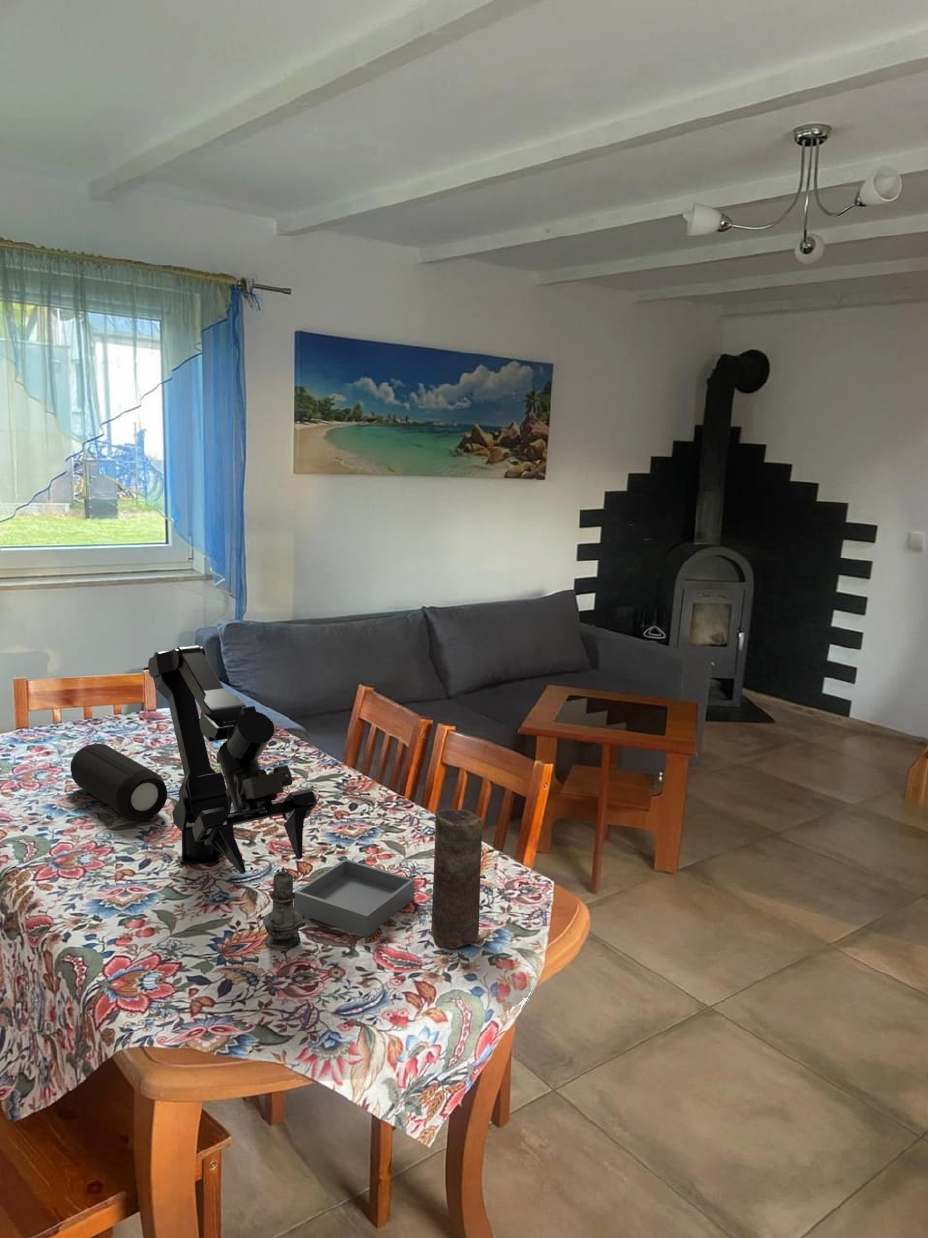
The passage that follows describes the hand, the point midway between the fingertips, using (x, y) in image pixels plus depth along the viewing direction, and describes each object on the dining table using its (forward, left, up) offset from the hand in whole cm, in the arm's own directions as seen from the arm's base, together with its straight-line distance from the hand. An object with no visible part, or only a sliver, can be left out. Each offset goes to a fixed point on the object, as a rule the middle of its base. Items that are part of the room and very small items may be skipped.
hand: (272, 865), depth 136 cm
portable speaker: (-34, +51, -11) cm, 63 cm away
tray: (+13, +7, -11) cm, 18 cm away
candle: (+28, -4, -11) cm, 30 cm away
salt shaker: (+2, -3, -11) cm, 11 cm away
